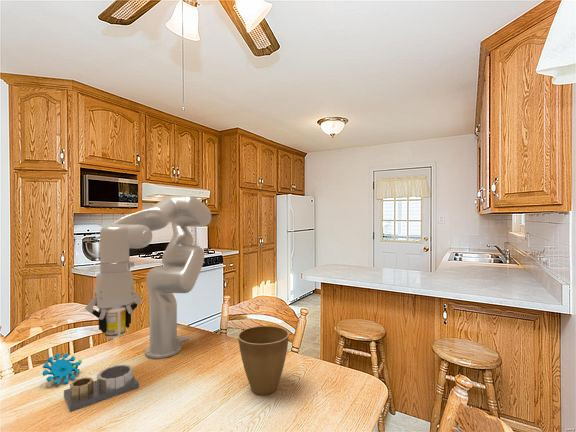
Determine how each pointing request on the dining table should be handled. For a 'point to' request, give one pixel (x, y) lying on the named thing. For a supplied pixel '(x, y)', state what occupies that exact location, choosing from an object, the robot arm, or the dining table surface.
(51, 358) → the blue virus model
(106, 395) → the fitting plate
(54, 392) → the dining table surface
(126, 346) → the dining table surface
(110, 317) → the supplement bottle
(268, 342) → the plant pot
